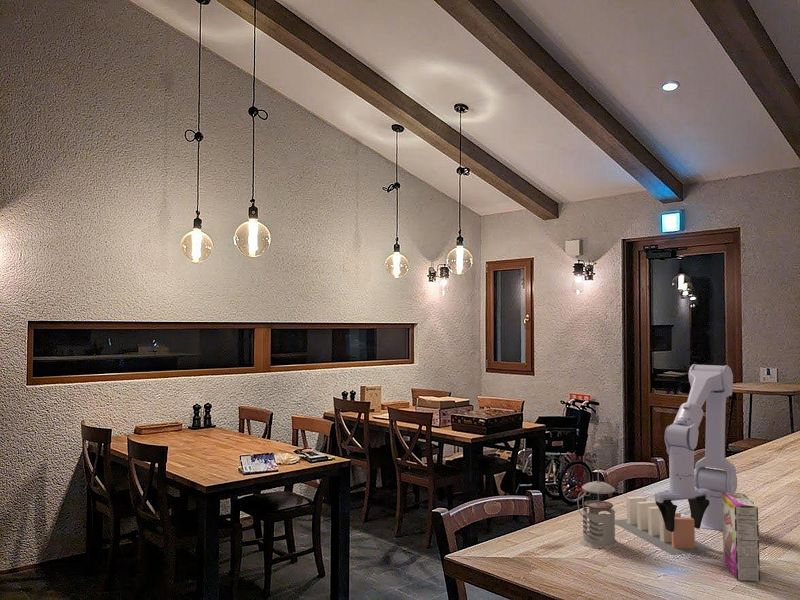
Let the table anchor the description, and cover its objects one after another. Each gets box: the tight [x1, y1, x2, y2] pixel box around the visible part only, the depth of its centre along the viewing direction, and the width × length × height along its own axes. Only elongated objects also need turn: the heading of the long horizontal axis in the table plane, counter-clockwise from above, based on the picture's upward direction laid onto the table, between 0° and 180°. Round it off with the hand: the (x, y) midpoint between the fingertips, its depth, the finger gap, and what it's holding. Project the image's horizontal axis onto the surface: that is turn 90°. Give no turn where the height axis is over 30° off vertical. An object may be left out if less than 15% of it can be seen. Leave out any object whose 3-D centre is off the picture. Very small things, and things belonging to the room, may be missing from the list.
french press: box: [577, 443, 619, 550], centre depth 171 cm, size 10×12×25 cm
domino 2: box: [637, 500, 657, 530], centre depth 180 cm, size 2×5×7 cm, turn 103°
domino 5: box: [672, 516, 696, 549], centre depth 165 cm, size 2×5×7 cm, turn 82°
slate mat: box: [614, 518, 716, 556], centre depth 175 cm, size 28×12×1 cm, turn 13°
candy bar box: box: [722, 492, 761, 583], centre depth 150 cm, size 11×5×16 cm, turn 168°
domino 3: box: [648, 506, 660, 536], centre depth 175 cm, size 2×5×7 cm, turn 103°
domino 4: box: [660, 510, 682, 542], centre depth 170 cm, size 2×5×7 cm, turn 103°
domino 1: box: [626, 495, 647, 525], centre depth 185 cm, size 2×5×7 cm, turn 103°
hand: (682, 529), depth 165 cm, fingers open, 7 cm apart
